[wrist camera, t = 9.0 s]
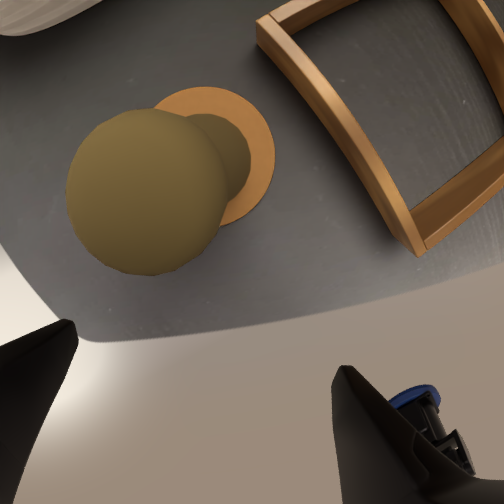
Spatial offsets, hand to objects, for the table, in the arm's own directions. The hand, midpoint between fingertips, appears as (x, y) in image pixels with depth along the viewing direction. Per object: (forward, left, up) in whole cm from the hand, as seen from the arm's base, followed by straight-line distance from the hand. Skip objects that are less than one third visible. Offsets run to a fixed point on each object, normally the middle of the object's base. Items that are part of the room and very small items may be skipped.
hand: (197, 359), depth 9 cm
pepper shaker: (+5, -2, -11) cm, 12 cm away
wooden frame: (+1, -17, -12) cm, 20 cm away
